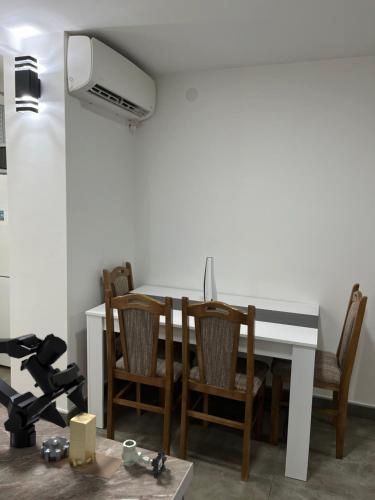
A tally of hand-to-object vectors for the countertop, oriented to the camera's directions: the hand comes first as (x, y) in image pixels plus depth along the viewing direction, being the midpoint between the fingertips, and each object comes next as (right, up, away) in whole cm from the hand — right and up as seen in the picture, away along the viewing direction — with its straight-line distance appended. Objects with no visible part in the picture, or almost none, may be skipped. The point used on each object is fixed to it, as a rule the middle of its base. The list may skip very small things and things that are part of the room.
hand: (75, 419), depth 107 cm
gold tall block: (+2, -11, 0) cm, 11 cm away
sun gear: (-6, -11, +2) cm, 13 cm away
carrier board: (+1, -12, 0) cm, 12 cm away
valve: (+18, -14, -1) cm, 23 cm away
